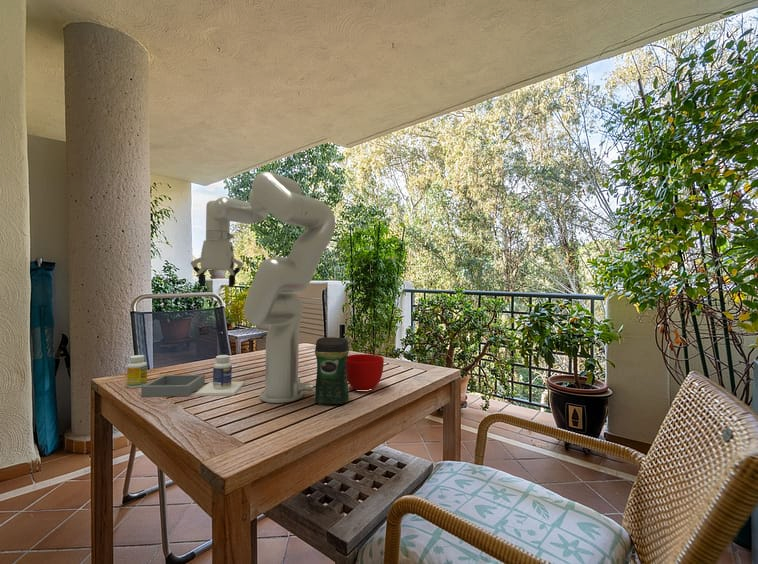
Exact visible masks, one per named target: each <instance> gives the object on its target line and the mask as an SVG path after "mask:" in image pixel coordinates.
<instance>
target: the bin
mask: <svg viewBox="0 0 758 564" xmlns="http://www.w3.org/2000/svg"><path fill="white" fill-rule="evenodd" d="M205 385H206V375H205V374H162V375H161V376H159V377H158V378H155V379H154V380H152V381H149V382H147V384H146V385H144V386H142V387H140V388H141V389H140V390H141V394H140V395H141V396H140V397H141V398H147V397H146V396H157V398H158V397H159V396H160V397H161V396H175V397H189V396H190V395H191V394H193V393H195V392H197V390H198V389H201V388H202V386H205ZM161 398H162V397H161Z"/></svg>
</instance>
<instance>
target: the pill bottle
mask: <svg viewBox="0 0 758 564" xmlns="http://www.w3.org/2000/svg"><path fill="white" fill-rule="evenodd" d="M230 357H231V356H230V354H229V355H228V354H219V355H217V356H215V363H213V365H212V366H213V367H212V368H213V369H212V372H213V374H212V382H213V388H215V389H225V388H229V387H230V386H231V382H232V379H233V378H232V374H233V372H232V371H233V370H232V369H233V365H232V362H230Z"/></svg>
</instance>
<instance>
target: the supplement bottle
mask: <svg viewBox="0 0 758 564" xmlns="http://www.w3.org/2000/svg"><path fill="white" fill-rule="evenodd" d="M145 357H146V356H145V354H136V355H131V356H129V362H128V364H127V366H126V387H127V388H129V389H137V388H138V389H139V388H141V387H142V386H144V385H146V384H148V382H147V380H148V379H147V378H148V377H147V375H148V363H147V362H146V361H145V359H146V358H145Z"/></svg>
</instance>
